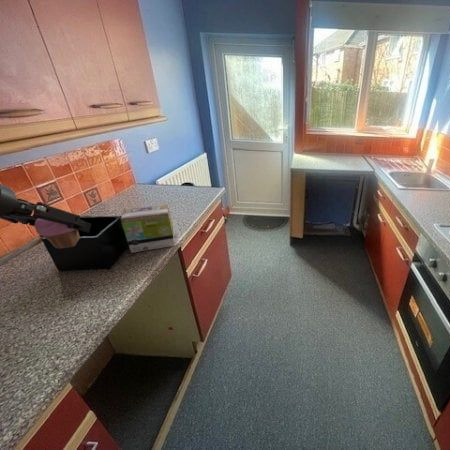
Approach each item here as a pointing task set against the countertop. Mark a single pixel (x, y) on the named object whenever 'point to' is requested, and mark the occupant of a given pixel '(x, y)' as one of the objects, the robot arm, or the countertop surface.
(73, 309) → the countertop surface
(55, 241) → the cupcake
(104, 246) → the waste bin
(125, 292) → the countertop surface
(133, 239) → the tea box
